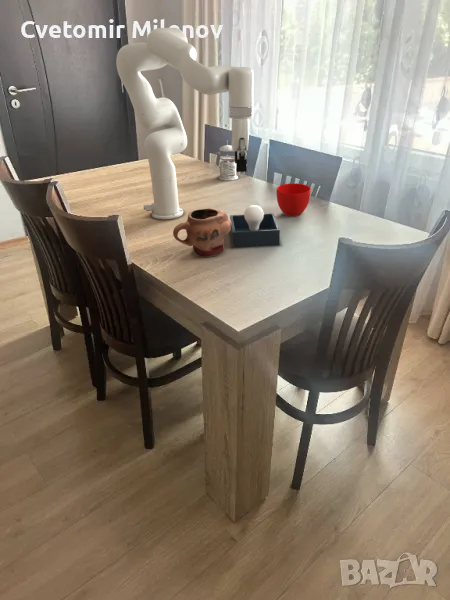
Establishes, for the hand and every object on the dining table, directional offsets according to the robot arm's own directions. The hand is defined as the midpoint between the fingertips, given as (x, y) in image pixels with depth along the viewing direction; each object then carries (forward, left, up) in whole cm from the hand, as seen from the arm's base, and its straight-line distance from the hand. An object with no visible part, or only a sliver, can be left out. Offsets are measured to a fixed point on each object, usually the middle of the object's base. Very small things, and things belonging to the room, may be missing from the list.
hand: (240, 167), depth 147 cm
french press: (-2, +69, -24) cm, 73 cm away
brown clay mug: (-13, -16, -24) cm, 31 cm away
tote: (+4, -5, -23) cm, 24 cm away
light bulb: (+4, -5, -23) cm, 24 cm away
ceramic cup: (+22, +18, -24) cm, 37 cm away
